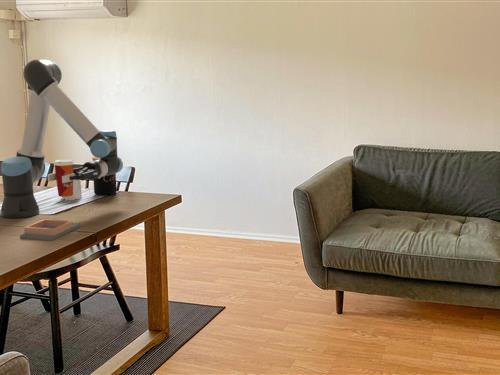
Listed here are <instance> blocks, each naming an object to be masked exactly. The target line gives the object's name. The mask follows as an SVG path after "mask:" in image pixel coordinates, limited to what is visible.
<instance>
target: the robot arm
mask: <svg viewBox="0 0 500 375" xmlns="http://www.w3.org/2000/svg"><path fill="white" fill-rule="evenodd" d="M62 75H63V73H62V70H61V67H60V66H59V65H58V64H57V63H56V62H54V61H53V60H50V59H45V58H44V59H33V60H30V61H28V62H27V63H26V64H25V66H24V68H23V72H22V76H23V79H24V81H25V83H26V85H27V90H28V92H29V93H30V94H29V100H28V106H27V111H26V118H25V123H24V130H23V135H22V141H21V147H20V148H19V149H17V151H16V154H15V156H12V157H9V158H5V159H4V160H3V161H1V169H0V170H1V178H2V180H1V181H2V187H3V200H2V205H1V208H0V216H1V218H5V219H6V218H7V219H23V218H27V217H33V216H36V215H38V214H40V206H39V205H38V202H37V200H36V197H35V194H34V183H35V182H38V181H39V180H41V179H42V177H43V176H44V174H45V172H46V163H45V157H46V155H45V153H44V151H43V148H44V143H45V137H46V136H45V135H46V130H47V125H48V118H49V114H50V107H52V109H53V110H54V111H55V112H56V113H57V114H58V115H59V116H60V118H61V119H63V120H64V122H65V123H66V124H67V125H68V126H69V127H70V128H71V130H72V131H74V133H76V134H77V135H78V137H79V138H80V139H81V140H82V141H83V142H84V143H85V144H86V145H87V147H88V148H89V151H90V153H91V155H92V157H97V158H100V159H99V160H94V161H93V160H92V161H86V162H84V163H83V165H82V166H79V167H75V168H74V167H73V174H69V175H65V176H62V183H66V182H70V181H74V180H75V179H76V180H79V179H80V181H85V180H89V181H91V180H92V181H93V179H96V178H99V179H100V178H101V177H103V176H107V175H112V174H115V173H116V174H119V173H120V172H121V171H122V169H123V167H124V166H123V165H124V163H123V161H122V158H121V157H119V156H118V137H117V131H116V130H111V129H108V130H107V129H104V130H99V129H98V128H97V127H96V126H95V125H94V124H93V123H92V121H91V120H90V119H89V118H88V117H87V116H86V115H85V114H84V113H83V112H82V110H81V109H80V108H79V107H78V106H77V105H76V104H75V102H74V101H72V99H71V98H70V97H69V96H68V95H67V94H66V93H65V92H64V91H63V90H62V89H61V88H60V87H59V86H60V85H59V84H60V82H61V80H62V77H63V76H62ZM54 181H56V172H53V173H49V174H47V182H54Z"/></svg>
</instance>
